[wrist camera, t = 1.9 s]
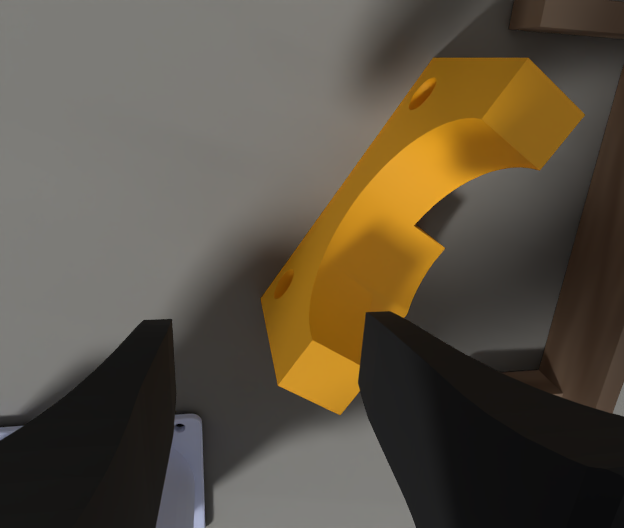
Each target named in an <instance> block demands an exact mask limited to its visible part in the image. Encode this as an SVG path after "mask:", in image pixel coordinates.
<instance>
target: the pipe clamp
mask: <svg viewBox="0 0 624 528" xmlns="http://www.w3.org/2000/svg"><path fill="white" fill-rule="evenodd" d="M584 116H585V114H584V113H583V112H582V111H581V110H580V109H579V108H578V107H577V106H576V105H575V104H574V103H573V102H572V101H571V100H570V99H569V98H568V97H567V96H566V95H565V94H564V93H563V92H562V91H561V90H560V89H559V88H558V87H557V86H556V85H555V84H554V83H553V82H552V81H551V80H550V79H549V78H548V77H547V76H546V75H545V74H544V73H543V72H542V71H541V70H540V69H539V68H538V67H537V66H536V65H535V64H534V63H533V62H532V61H531V60H530V59H529V58H433V59H432V60H431V61H430V63H429V64H428V66H427V67H426V68H425V70H424V71H423V73H422V74H421V75H420V77H419V78H418V80H417V81H416V82H415V84H414V85H413V87H412V88H411V89H410V91H409V92H408V94H407V95H406V96H405V98H404V99H403V100H402V102H401V103H400V105H399V106H398V107H397V109H396V110H395V112H394V113H393V114H392V116H391V117H390V119H389V120H388V121H387V123H386V124H385V126H384V127H383V128H382V130H381V131H380V133H379V134H378V135H377V137H376V138H375V140H374V141H373V142H372V144H371V145H370V147H369V148H368V149H367V151H366V152H365V154H364V155H363V156H362V158H361V159H360V160H359V162H358V163H357V165H356V166H355V167H354V169H353V170H352V172H351V173H350V174H349V176H348V177H347V179H346V180H345V181H344V183H343V184H342V186H341V187H340V188H339V190H338V191H337V193H336V194H335V195H334V197H333V198H332V200H331V201H330V202H329V204H328V205H327V207H326V208H325V209H324V211H323V212H322V213H321V215H320V216H319V218H318V219H317V220H316V222H315V223H314V225H313V226H312V227H311V229H310V230H309V232H308V233H307V234H306V236H305V237H304V239H303V240H302V241H301V243H300V244H299V246H298V247H297V248H296V250H295V251H294V253H293V254H292V255H291V257H290V258H289V260H288V261H287V262H286V264H285V265H284V266H283V268H282V269H281V271H280V272H279V273H278V275H277V276H276V278H275V279H274V280H273V282H272V283H271V285H270V286H269V287H268V289H267V290H266V292H265V293H264V294H263V296H262V297H261V304H262V309H263V314H264V319H265V324H266V329H267V334H268V339H269V344H270V349H271V354H272V359H273V364H274V369H275V374H276V379H277V384H278V386H280V387H282V388H284V389H286V390H288V391H290V392H292V393H295V394H297V395H299V396H301V397H303V398H305V399H307V400H309V401H311V402H313V403H315V404H318V405H320V406H322V407H324V408H326V409H328V410H330V411H332V412H334V413H336V414H339V415H341V414H342V412H343V411H344V410H345V409H346V407H347V406H348V405H349V404H350V403H351V401H352V400H353V399H354V398H355V396H356V395H357V394H358V393H359V391H360V389H359V385H358V377H359V368H360V360H361V351H362V342H363V333H364V324H365V316H366V312H382V311H391V312H393V313H395V314H397V315H399V316H401V317H403V318H404V317H405V316H406V315H407V313H408V310H409V308H410V305H411V302H412V300H413V297H414V295H415V293H416V291H417V289H418V287H419V285H420V283H421V281H422V279H423V278H424V276H425V275H426V273H427V271H428V270H429V268H430V267H431V266H432V264H433V263H434V261H435V260H436V259H437V258H438V256H439V255H440V254H441V253H442V251H443V250H444V249H445V248H444V247H443V246H442V245H441V244H440V243H438V242H437V241H436V240H435V239H433V238H432V237H431V236H430V235H429V234H427V233H426V232H425V231H424V230H422V229H421V228H419V227H418V226H417V225H415V224H416V223H417V222H418V221H419V220H420V219H421V217H422V216H423V215H424V214H425V213H426V212H427V211H429V210H430V209H431V208H432V207H433V206H434V205H435V204H436V203H437V202H439V201H440V200H441V199H442V198H444V197H445V196H446V195H448V194H449V193H450V192H452V191H453V190H455V189H456V188H458V187H459V186H461V185H463V184H465V183H466V182H468V181H470V180H472V179H474V178H476V177H479V176H481V175H483V174H486V173H489V172H492V171H496V170H500V169H505V168H514V167H523V168H532V169H536V170H541V168H542V167H543V166H544V165H545V164H546V162H547V161H548V160H549V159H550V157H551V156H552V155H553V154H554V153H555V151H556V150H557V149H558V148H559V146H560V145H561V144H562V143H563V141H564V140H565V139H566V138H567V137H568V135H569V134H570V133H571V132H572V130H573V129H574V128H575V127H576V126H577V124H578V123H579V122H580V121H581V119H582V118H583V117H584Z"/></svg>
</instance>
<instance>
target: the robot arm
mask: <svg viewBox="0 0 624 528" xmlns="http://www.w3.org/2000/svg"><path fill="white" fill-rule="evenodd" d="M358 385H359V389H360V392H361V396H362V399H363V403H364V406H365V409H366V412H367V416H368V419H369V421H370V423H371V426H372V428H373V430H374V432H375V434H376V437H377V439H378V441H379V443H380V446H381V448H382V450H383V452H384V454H385V456H386V459H387V461H388V463H389V465H390V467H391V469H392V472H393V474H394V476H395V478H396V480H397V482H398V485H399V487H400V489H401V491H402V493H403V495H404V498H405V500H406V503H407V505H408V507H409V510H410V512H411V515H412V517H413V520H414V523H415V526H416V528H624V417H623V416H620V415H616V414H612V413H608V412H605V411H602V410H598V409H595V408H592V407H589V406H585V405H582V404H579V403H576V402H574V401H571V400H568V399H565V398H562V397H559V396H556V395H553V394H551V393H548V392H545V391H543V390H540V389H538V388H535V387H533V386H530V385H528V384H526V383H523V382H521V381H519V380H516V379H514V378H512V377H509V376H507V375H505V374H503V373H501V372H498V371H496V370H494V369H492V368H490V367H488V366H486V365H484V364H483V363H481V362H479V361H477V360H475V359H473V358H471V357H469V356H467V355H465V354H464V353H462V352H460V351H458V350H457V349H455V348H453V347H451V346H450V345H448V344H446V343H444V342H443V341H441V340H439V339H438V338H436V337H434V336H433V335H431V334H429V333H428V332H426V331H424V330H423V329H421V328H420V327H418V326H416V325H415V324H413V323H411V322H410V321H408V320H406V319H404V318H403V317H401V316H399V315H397V314H395V313H393V312H391V311H382V312H366V316H365V324H364V333H363V342H362V351H361V360H360V368H359V377H358ZM175 405H176V383H175V365H174V347H173V329H172V319H161V320H143V321H142V322H141V323H140V324H139V325H138V326H137V327H136V328H135V329H134V330H133V331H132V333H131V334H130V335H129V336H128V337H127V338H126V339H125V340H124V341H123V342H122V343H121V344H120V346H119V347H118V348H117V349H116V350H115V351H114V352H113V353H112V354H111V355H110V356H109V357H108V358H107V359H106V360H105V361H104V362H103V363H102V364H101V365H100V366H99V367H98V368H97V369H96V370H95V371H94V372H93V373H91V374H90V375H89V376H88V377H87V378H86V379H85V380H84V381H82V382H81V383H80V384H79V385H78V386H77V387H76V388H75V389H73V390H72V391H71V392H70V393H68V394H67V395H66V396H65V397H63V398H62V399H61V400H60V401H58V402H57V403H56V404H54V405H53V406H52V407H50V408H49V409H47V410H46V411H45V412H43V413H42V414H40V415H39V416H38V417H36V418H35V419H33V420H32V421H30V422H29V423H28V424H26V425H24V426H13V427H0V528H205V499H204V468H203V437H202V420H201V418H200V417H199V416H198V415H196V414H179V415H175ZM176 424H183V425H184V426H182V427H177V426H176Z"/></svg>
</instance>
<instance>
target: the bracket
mask: <svg viewBox="0 0 624 528" xmlns="http://www.w3.org/2000/svg"><path fill="white" fill-rule="evenodd" d="M509 30H521V31H533V32H545V33H557V34H568V35H580V36H592V37H604V38H616V39H624V2H620V1H610V0H514V4H513V9H512V15H511V20H510V25H509ZM501 373H503V374H505V375H507V376H509V377H512V378H514V379H516V380H519V381H521V382H523V383H526V384H528V385H530V386H533V387H535V388H538V389H540V390H543V391H545V392H548V393H551V394H553V395H556V396H559V397H562V398H565V399H568V400H571V401H574V402H576V403H579V404H582V405H585V406H589V407H592V408H595V409H598V410H602V411H605V412H608V413H613V410H614V407H615V405H616V402H617V399H618V396H619V394H620V391H621V388H622V385H623V382H624V65H623V69H622V72H621V76H620V80H619V83H618V87H617V90H616V94H615V98H614V101H613V105H612V108H611V112H610V115H609V119H608V123H607V126H606V130H605V133H604V137H603V141H602V144H601V148H600V151H599V155H598V159H597V162H596V166H595V169H594V173H593V177H592V180H591V184H590V187H589V191H588V195H587V198H586V202H585V205H584V209H583V213H582V216H581V220H580V223H579V227H578V231H577V234H576V238H575V241H574V245H573V249H572V252H571V256H570V259H569V263H568V267H567V270H566V274H565V277H564V281H563V285H562V288H561V292H560V295H559V299H558V303H557V306H556V310H555V313H554V317H553V321H552V324H551V328H550V331H549V335H548V339H547V342H546V346H545V349H544V353H543V357H542V360H541V364H540V367H539V370H532V371H516V372H501Z"/></svg>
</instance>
